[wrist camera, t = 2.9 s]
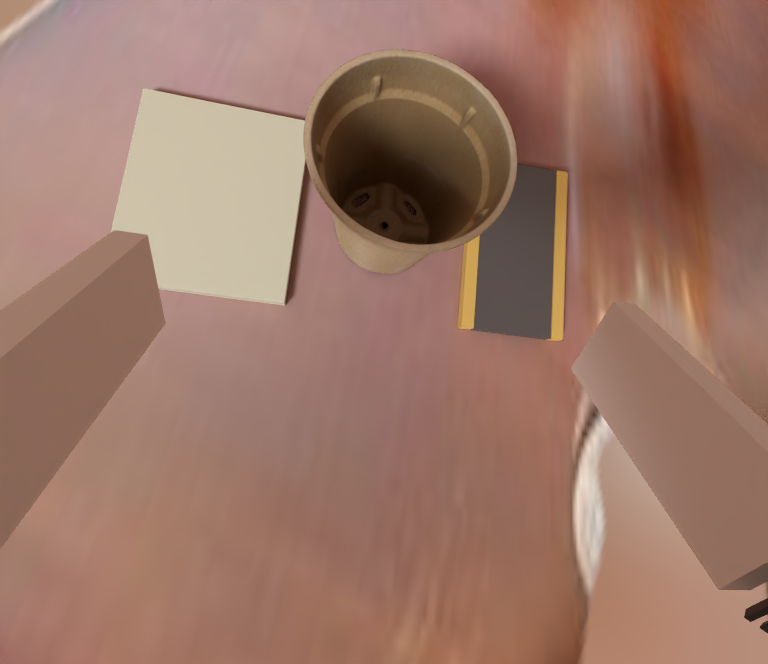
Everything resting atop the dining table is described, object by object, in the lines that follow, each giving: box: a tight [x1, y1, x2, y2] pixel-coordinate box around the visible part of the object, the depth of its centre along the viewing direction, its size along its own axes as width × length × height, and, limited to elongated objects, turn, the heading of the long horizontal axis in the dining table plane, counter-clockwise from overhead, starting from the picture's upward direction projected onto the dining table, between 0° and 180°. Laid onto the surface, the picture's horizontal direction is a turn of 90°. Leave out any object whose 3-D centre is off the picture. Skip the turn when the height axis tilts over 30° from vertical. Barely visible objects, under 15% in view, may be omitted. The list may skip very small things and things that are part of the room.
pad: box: [111, 88, 306, 306], centre depth 23 cm, size 10×12×1 cm
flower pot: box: [303, 49, 517, 274], centre depth 20 cm, size 9×9×9 cm
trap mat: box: [458, 163, 568, 341], centre depth 25 cm, size 7×12×1 cm, turn 173°
